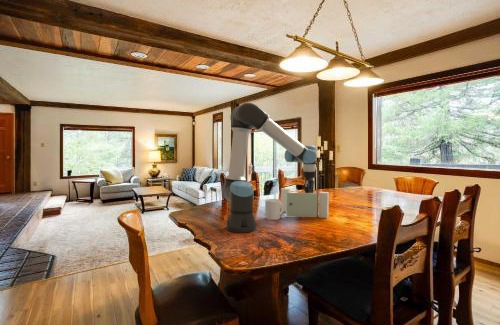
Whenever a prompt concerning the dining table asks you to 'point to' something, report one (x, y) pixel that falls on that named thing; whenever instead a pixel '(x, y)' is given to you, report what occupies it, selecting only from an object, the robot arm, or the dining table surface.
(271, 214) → the mug
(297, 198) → the door
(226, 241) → the dining table surface
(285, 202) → the wall frame
